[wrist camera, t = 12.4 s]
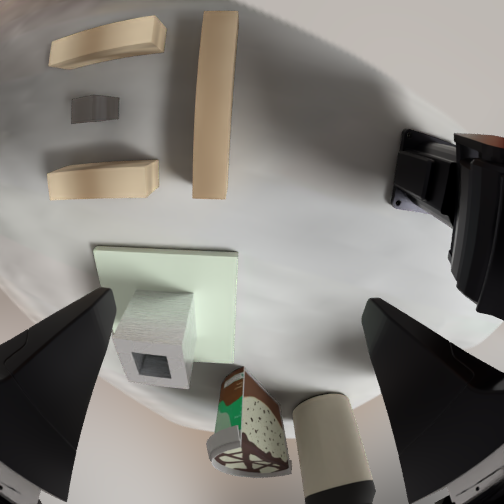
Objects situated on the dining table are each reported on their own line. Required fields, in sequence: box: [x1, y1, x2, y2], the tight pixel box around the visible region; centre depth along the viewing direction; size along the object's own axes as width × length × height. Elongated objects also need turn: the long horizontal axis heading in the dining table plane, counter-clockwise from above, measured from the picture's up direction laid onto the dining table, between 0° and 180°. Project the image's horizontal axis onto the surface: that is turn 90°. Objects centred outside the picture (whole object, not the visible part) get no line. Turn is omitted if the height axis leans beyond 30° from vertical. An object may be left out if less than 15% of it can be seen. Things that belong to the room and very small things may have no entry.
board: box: [93, 246, 238, 364], centre depth 23 cm, size 12×12×1 cm
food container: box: [206, 367, 292, 478], centre depth 26 cm, size 12×6×10 cm, turn 28°
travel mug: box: [292, 394, 376, 504], centre depth 24 cm, size 8×8×18 cm
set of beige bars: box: [47, 11, 239, 200], centre depth 14 cm, size 13×12×4 cm
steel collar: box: [112, 289, 197, 389], centre depth 20 cm, size 5×5×6 cm
